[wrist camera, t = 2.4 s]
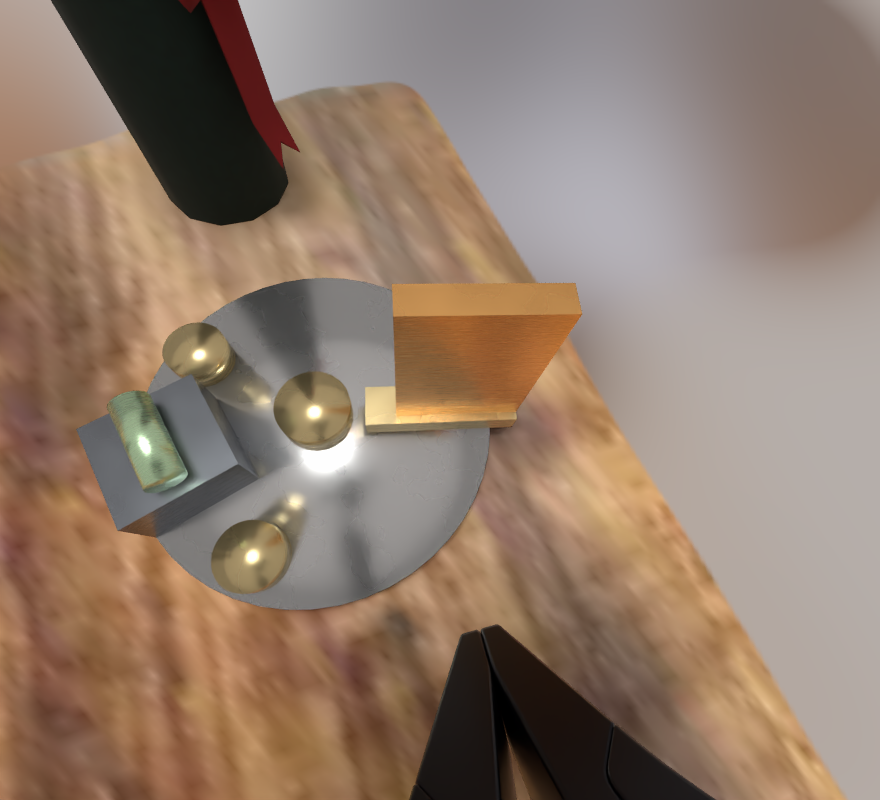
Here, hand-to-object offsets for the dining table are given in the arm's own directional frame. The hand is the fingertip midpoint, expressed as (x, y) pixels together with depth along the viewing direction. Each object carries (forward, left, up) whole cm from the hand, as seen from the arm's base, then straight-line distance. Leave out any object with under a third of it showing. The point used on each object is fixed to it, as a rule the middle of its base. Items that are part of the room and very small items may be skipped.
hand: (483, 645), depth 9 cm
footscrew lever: (+9, -3, -11) cm, 15 cm away
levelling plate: (+11, 0, -13) cm, 17 cm away
